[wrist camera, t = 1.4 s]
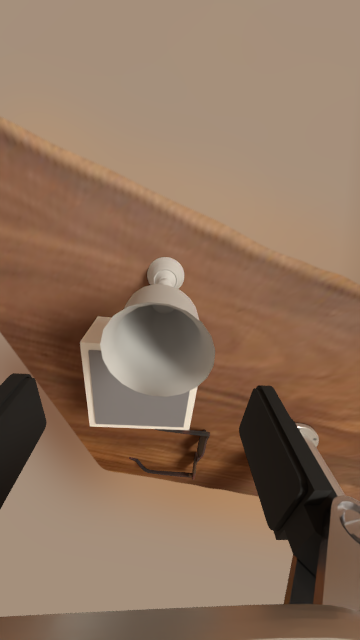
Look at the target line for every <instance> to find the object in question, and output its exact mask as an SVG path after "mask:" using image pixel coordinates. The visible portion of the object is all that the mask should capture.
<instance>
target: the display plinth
mask: <svg viewBox="0 0 360 640" xmlns="http://www.w3.org/2000/svg"><path fill="white" fill-rule="evenodd" d="M111 318H112V317H100V316H98V317H97V318H96V320H95V321H94V322H93V324H92V325H91V327H90V328H89V330H88V331H87V333H86V334H85V335H84V337H83V338H82V340H81V341H80V348H81V357H82V365H83V373H84V381H85V390H86V398H87V406H88V415H89V423H90V426H94V427H119V428H145V429H170V430H189V428H190V422H191V417H192V412H193V407H194V402H195V397H196V391H197V387H196V388H194V389H192V390H190V391H188V392H186V393H183V394H179V395H174V396H168V397H163V396H150V395H147V394H143V393H140V392H136V391H134V390H132V389H131V388H129V387H127V386H125V385H123V384H122V383H121V382H120V381H119V380H118V379H116V378H115V377H114V376H113V375H112V374H111V373H110V371H109V369H108V368H107V366H106V364H105V362H104V361H103V358H102V352H101V347H100V343H101V338H102V334H103V329H104V328H105V326H106V325H107V324H108V322H109V321H110V320H111Z"/></svg>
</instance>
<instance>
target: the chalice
mask: <svg viewBox="0 0 360 640" xmlns="http://www.w3.org/2000/svg"><path fill="white" fill-rule="evenodd" d="M147 278H148V281H149V284H150V285H149V286H145V287H143V288H141V289H139V290H138V291H136V292H135V293H134V294H133V295H132V296H131V298H130V299H129V300H128V302H127V304H126V306H125V308H124V310H122V311H120V312H119V313H117V314H115V315H114V316H113V317H112V318H111V320H110V321H109V322H108V324H107V325H106V326H105V328H104V329H103V334H102V338H101V343H100V347H101V352H102V358H103V361H104V362H105V364H106V366H107V368H108V369H109V371H110V373H111V374H112V375H113V376H114V377H115V378H116V379H118V380H119V381H120V382H121V383H122V384H123V385H125V386H127V387H129V388H131V389H132V390H134V391H136V392H140V393H143V394H147V395H150V396H163V397H168V396H174V395H179V394H183V393H186V392H188V391H190V390H192V389H194V388H196V387H197V386H198V385H199V384H201V383H202V382H203V381H204V380H205V379H206V378H207V377H208V375H209V373H210V371H211V369H212V367H213V365H214V357H215V348H214V345H213V341H212V337H211V335H210V334H209V332H208V331H207V329H206V328H205V326H204V325H203V323H202V322H201V321H199V318H198V314H197V311H196V307H195V305H194V304H193V303H192V301H191V300H190V298H189V297H188V296H187V295H185V294H184V293H183V292H182V291H180V290H179V288H180V287H181V285H182V283H183V281H184V271H183V268H182V266H181V265H180V263H178V262H177V261H176V260H174V259H172V258H169V257H162V258H158V259H156V260H155V261H153V262H152V263H151V265H150V266H149V268H148V271H147Z"/></svg>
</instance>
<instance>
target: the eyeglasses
mask: <svg viewBox="0 0 360 640" xmlns="http://www.w3.org/2000/svg"><path fill="white" fill-rule="evenodd" d="M155 430H160V431H167V432H174V433H182V434H191V435H199V436H201V437H200V438H199V442H198V448H197V452H195V458H194V463H193V473H185V472H168V471H155V470H149V469H146V468H145V467H144V466H143V465H142V464H141V462H140V461H139V460H138V459H135V458H131V457H129V459H131V460H134V461H136V462H137V464H138V465H139V466H140V467H141V468H142V469H143V470H144V471H145V472H148V473H153V474H161V475H170V476H180V477H192V480H194V479H195V473H196V465H197V462H198V461H199V460H200V459H201V458H202V457H203V455H204V452H205V448H206V443H207V439H208V438H209V436H210V432H206V430H203V431H194V430H170V429H155ZM197 455H198V457H197Z"/></svg>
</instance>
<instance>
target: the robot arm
mask: <svg viewBox="0 0 360 640" xmlns="http://www.w3.org/2000/svg"><path fill="white" fill-rule="evenodd" d="M45 427H46V418H45V414H44V411H43V407H42V404H41V399H40V396H39V392H38V388H37V385H36V381H35V379H34V378H32V377H31V375H29V374H12V375H10V376H9V377H8V378H7V379H6V380H5V381H4V382H3V383H2V385H0V509H1V507H2V505H3V503H4V501H5V500H6V498H7V496H8V494H9V492H10V491H11V489H12V487H13V485H14V484H15V482H16V480H17V478H18V476H19V474H20V473H21V471H22V469H23V467H24V465H25V464H26V462H27V460H28V458H29V457H30V455H31V453H32V451H33V449H34V448H35V446H36V444H37V442H38V440H39V439H40V437H41V435H42V433H43V431H44V429H45ZM239 433H240V437H241V440H242V444H243V447H244V450H245V453H246V457H247V460H248V463H249V466H250V469H251V473H252V476H253V479H254V482H255V486H256V489H257V492H258V495H259V498H260V502H261V505H262V508H263V511H264V515H265V518H266V521H267V524H268V526H269V528H270V529H271V530H273V531H274V534H275V537H276V540H288V541H289V544H290V546H291V549H292V552H293V558H292V564H291V569H290V574H289V579H288V584H287V589H286V594H285V600H284V604H279V605H278V604H276V605H241V606H219V607H218V606H217V607H193V608H170V609H149V610H128V611H107V612H86V613H66V614H47V615H28V616H10V617H0V640H360V502H359V501H357V500H355V499H353V498H351V497H348V496H345V494H344V492H343V491H342V489H341V487H340V486H339V484H338V483H337V481H336V479H335V478H334V476H333V474H332V473H331V471H330V469H329V468H328V466H327V464H326V463H325V461H324V460H323V458H322V456H321V455H320V453H319V451H318V450H317V448H316V447H317V445H318V442H319V438H318V435H317V433H316V432H315V431H314V429H313V428H311V427H310V426H308V425H305V424H301V423H295V422H294V421H293V420H292V419H291V418H290V416H289V414H288V413H287V411H286V409H285V407H284V406H283V404H282V402H281V400H280V399H279V397H278V395H277V393H276V392H275V390H274V388H273V387H272V386H257V388H256V389H253V391H252V394H251V397H250V399H249V402H248V405H247V408H246V410H245V413H244V416H243V419H242V421H241V424H240V427H239Z"/></svg>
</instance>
